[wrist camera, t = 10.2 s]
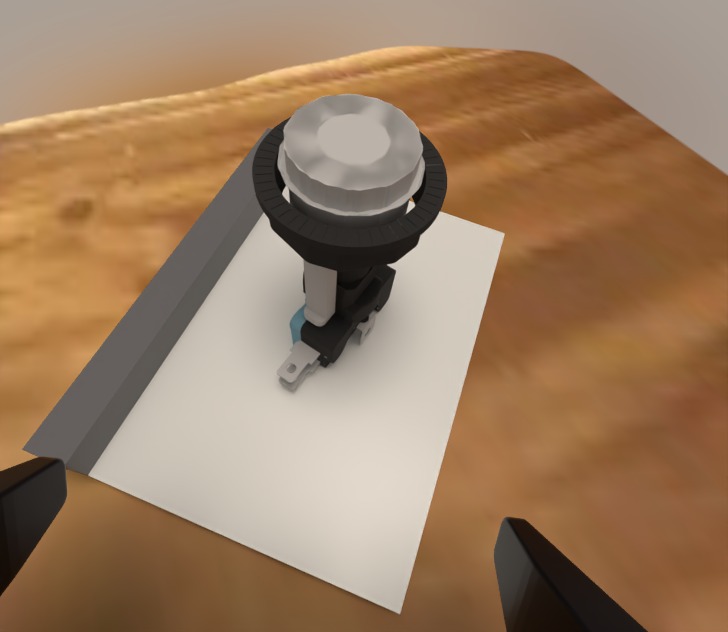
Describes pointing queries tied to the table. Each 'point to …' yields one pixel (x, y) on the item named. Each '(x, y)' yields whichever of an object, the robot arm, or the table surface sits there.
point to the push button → (345, 213)
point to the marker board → (282, 397)
